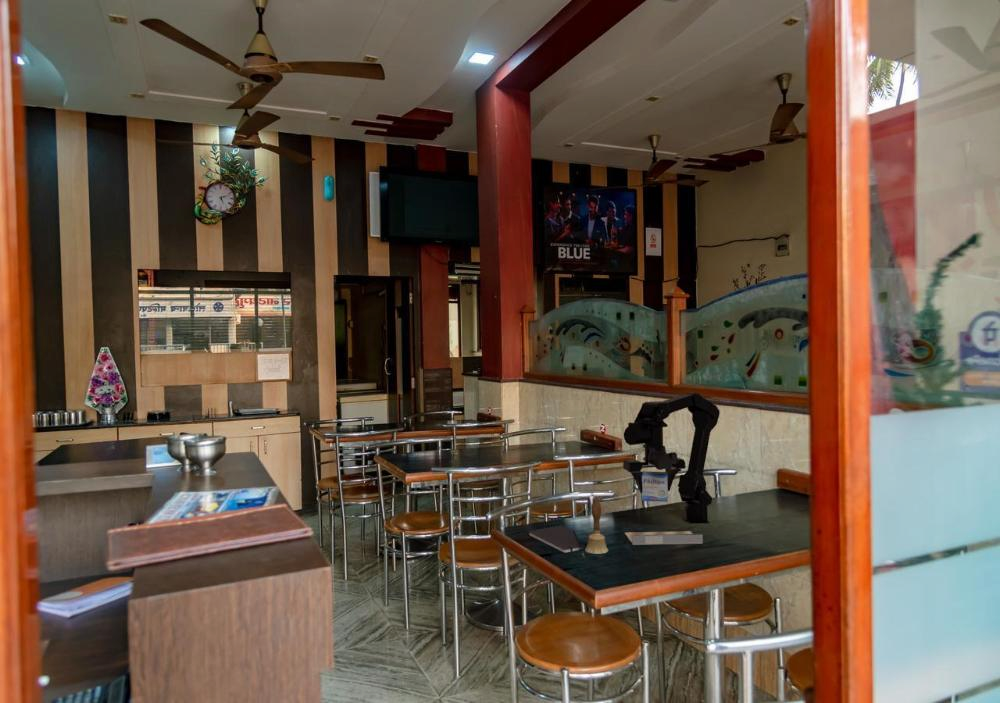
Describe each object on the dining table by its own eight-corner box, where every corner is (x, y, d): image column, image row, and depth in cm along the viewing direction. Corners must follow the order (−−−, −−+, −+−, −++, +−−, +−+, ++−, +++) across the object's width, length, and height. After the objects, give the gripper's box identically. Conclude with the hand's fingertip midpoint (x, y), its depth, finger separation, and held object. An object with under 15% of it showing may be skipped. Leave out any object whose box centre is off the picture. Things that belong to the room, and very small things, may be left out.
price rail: (701, 542, 179) (701, 533, 179) (702, 543, 178) (702, 534, 178) (632, 543, 179) (632, 535, 179) (633, 544, 178) (632, 536, 178)
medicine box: (641, 501, 195) (640, 473, 195) (642, 497, 199) (641, 470, 199) (667, 502, 193) (666, 474, 193) (668, 498, 197) (667, 471, 197)
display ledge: (690, 536, 190) (690, 531, 190) (702, 548, 178) (702, 543, 178) (624, 537, 191) (624, 532, 191) (633, 549, 179) (632, 544, 179)
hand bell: (609, 550, 179) (608, 494, 179) (614, 560, 170) (612, 501, 170) (580, 550, 179) (579, 495, 179) (583, 560, 170) (582, 502, 171)
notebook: (601, 547, 183) (561, 530, 202) (600, 542, 183) (561, 525, 202) (564, 554, 177) (527, 536, 196) (564, 549, 177) (527, 531, 196)
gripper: (636, 447, 186) (637, 499, 186) (693, 444, 190) (694, 495, 190) (622, 442, 197) (623, 491, 197) (676, 439, 201) (677, 487, 201)
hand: (654, 491), depth 196 cm, fingers closed on medicine box, 9 cm apart
